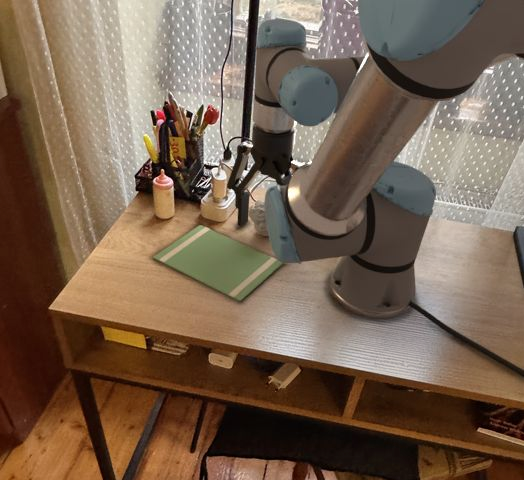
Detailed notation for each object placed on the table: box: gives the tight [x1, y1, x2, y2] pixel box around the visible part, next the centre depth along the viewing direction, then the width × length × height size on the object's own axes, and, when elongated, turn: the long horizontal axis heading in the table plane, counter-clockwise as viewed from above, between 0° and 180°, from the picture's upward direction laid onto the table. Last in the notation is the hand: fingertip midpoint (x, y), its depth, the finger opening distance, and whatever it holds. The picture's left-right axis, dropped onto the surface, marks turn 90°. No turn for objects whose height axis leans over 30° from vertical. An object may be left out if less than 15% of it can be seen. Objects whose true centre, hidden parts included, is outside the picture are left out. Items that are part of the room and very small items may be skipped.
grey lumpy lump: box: [248, 199, 269, 237], centre depth 106 cm, size 6×7×7 cm
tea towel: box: [152, 224, 284, 303], centre depth 101 cm, size 20×14×1 cm
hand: (265, 233), depth 109 cm, fingers open, 11 cm apart
